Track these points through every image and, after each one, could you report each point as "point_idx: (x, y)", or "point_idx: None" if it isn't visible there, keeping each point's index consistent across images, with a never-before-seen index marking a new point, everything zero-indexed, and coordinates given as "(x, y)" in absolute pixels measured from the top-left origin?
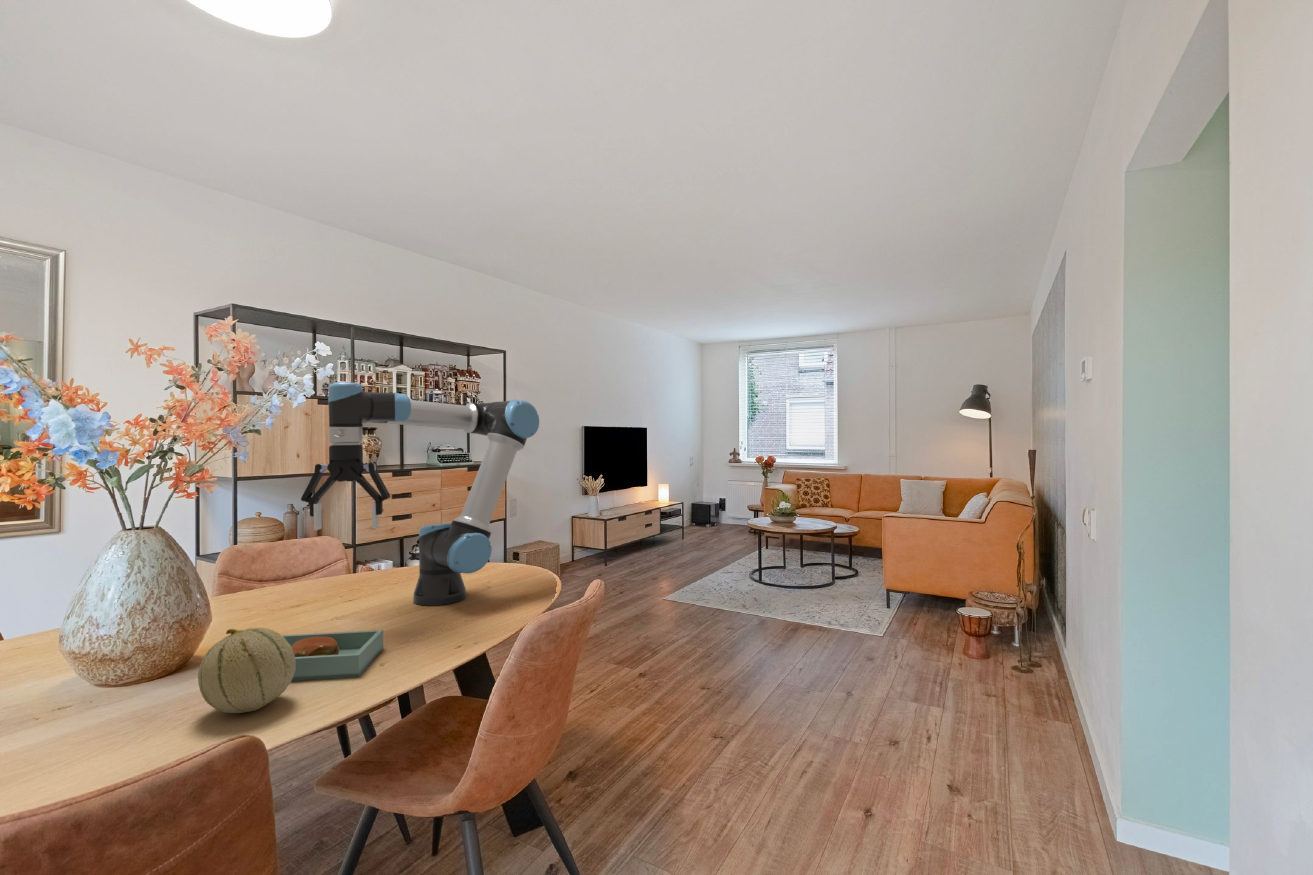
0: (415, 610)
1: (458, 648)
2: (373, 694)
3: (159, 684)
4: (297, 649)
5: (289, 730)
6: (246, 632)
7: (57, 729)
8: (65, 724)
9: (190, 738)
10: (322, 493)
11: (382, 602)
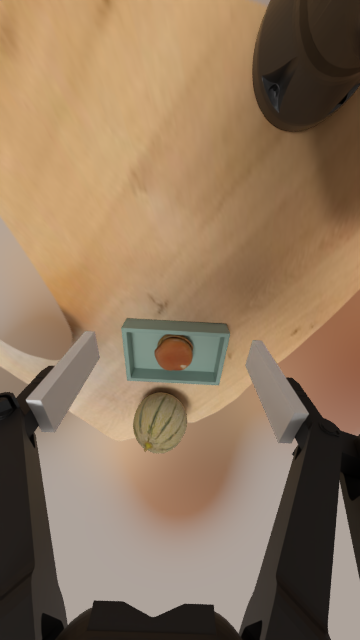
0: (255, 159)
1: (293, 336)
2: (230, 396)
3: None
4: (166, 369)
5: (195, 419)
6: (159, 452)
7: None
8: None
9: None
10: (39, 481)
11: (187, 57)
